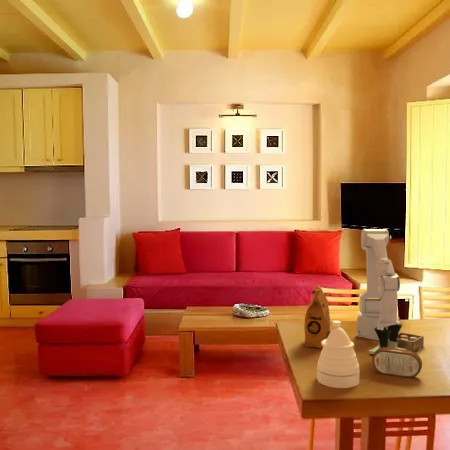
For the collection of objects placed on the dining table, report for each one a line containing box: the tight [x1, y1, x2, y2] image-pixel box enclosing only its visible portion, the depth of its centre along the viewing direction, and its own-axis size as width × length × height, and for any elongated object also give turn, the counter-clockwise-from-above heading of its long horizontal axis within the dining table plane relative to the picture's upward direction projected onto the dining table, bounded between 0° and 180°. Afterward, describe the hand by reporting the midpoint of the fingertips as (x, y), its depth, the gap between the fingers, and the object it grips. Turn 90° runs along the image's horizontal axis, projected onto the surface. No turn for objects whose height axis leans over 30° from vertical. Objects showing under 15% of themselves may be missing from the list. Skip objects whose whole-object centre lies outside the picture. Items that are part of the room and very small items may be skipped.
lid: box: [368, 340, 407, 355], centre depth 182 cm, size 10×11×5 cm
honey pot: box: [316, 320, 360, 389], centre depth 156 cm, size 13×13×18 cm
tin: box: [371, 347, 423, 379], centre depth 160 cm, size 15×3×8 cm, turn 64°
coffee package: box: [303, 285, 331, 349], centre depth 194 cm, size 10×12×22 cm
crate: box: [396, 331, 425, 353], centre depth 189 cm, size 9×10×4 cm
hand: (388, 345), depth 182 cm, fingers open, 7 cm apart
